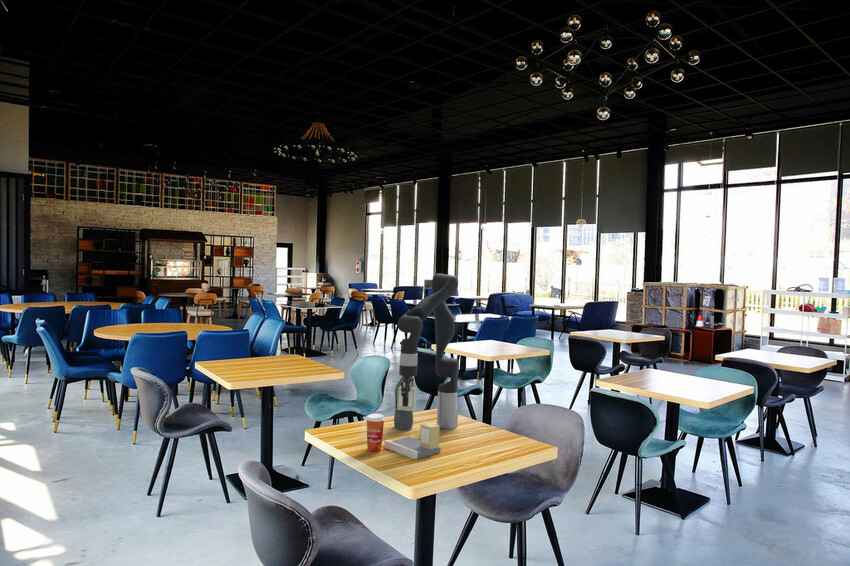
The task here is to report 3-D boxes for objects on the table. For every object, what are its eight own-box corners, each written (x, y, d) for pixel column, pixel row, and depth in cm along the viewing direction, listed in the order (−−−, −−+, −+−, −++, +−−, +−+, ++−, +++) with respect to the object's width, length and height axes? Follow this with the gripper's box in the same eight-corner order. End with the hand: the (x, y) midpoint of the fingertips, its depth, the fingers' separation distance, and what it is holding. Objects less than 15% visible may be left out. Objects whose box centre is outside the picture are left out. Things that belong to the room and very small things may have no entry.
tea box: (399, 407, 227) (400, 386, 227) (415, 408, 226) (416, 387, 226) (396, 410, 222) (397, 388, 222) (413, 411, 221) (414, 389, 221)
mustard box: (428, 444, 224) (429, 422, 224) (438, 447, 220) (439, 425, 220) (419, 446, 221) (420, 424, 221) (429, 450, 216) (430, 427, 216)
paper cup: (361, 451, 218) (362, 416, 218) (369, 446, 225) (371, 412, 225) (379, 454, 215) (380, 419, 215) (387, 448, 222) (388, 414, 222)
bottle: (417, 428, 254) (419, 365, 254) (403, 432, 248) (406, 367, 248) (402, 424, 261) (405, 362, 261) (389, 427, 254) (391, 364, 254)
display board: (408, 441, 234) (409, 434, 234) (440, 452, 220) (440, 445, 220) (384, 447, 224) (384, 440, 224) (415, 459, 210) (415, 451, 210)
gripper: (413, 366, 216) (412, 409, 216) (420, 362, 231) (418, 402, 230) (395, 365, 218) (393, 407, 217) (403, 361, 232) (401, 400, 232)
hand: (406, 404), depth 224 cm, fingers closed on tea box, 5 cm apart
